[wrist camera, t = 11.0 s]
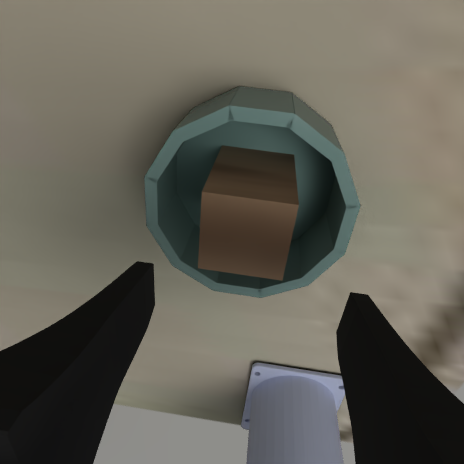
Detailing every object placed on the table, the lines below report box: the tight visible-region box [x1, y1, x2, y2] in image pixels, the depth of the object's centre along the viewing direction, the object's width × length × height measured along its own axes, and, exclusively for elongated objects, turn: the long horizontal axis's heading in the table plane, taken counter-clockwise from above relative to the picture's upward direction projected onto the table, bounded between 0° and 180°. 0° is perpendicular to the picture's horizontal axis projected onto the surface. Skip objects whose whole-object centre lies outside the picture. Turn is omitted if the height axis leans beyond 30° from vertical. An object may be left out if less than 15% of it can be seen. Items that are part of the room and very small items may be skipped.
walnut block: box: [198, 145, 299, 281], centre depth 18 cm, size 4×4×6 cm
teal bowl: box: [144, 86, 360, 298], centre depth 19 cm, size 10×10×4 cm
